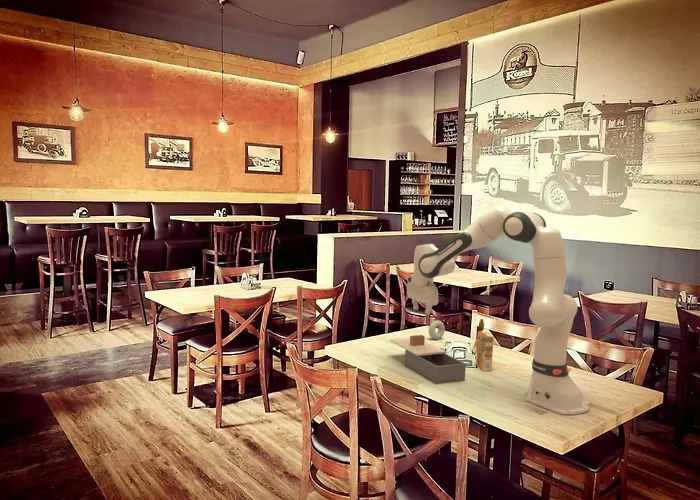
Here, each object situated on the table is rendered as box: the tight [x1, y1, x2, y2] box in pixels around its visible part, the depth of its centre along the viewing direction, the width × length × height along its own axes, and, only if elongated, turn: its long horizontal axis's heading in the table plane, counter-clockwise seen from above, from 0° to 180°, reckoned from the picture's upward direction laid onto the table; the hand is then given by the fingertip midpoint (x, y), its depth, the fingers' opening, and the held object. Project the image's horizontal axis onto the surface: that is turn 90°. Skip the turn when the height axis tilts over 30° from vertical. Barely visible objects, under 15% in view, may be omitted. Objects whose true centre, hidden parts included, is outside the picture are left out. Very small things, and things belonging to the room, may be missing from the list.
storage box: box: [404, 349, 467, 385], centre depth 225 cm, size 24×14×7 cm, turn 24°
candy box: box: [475, 330, 494, 372], centre depth 234 cm, size 9×4×15 cm, turn 8°
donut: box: [428, 319, 446, 340], centre depth 278 cm, size 10×3×10 cm, turn 123°
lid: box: [389, 334, 447, 356], centre depth 237 cm, size 24×14×5 cm, turn 24°
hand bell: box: [471, 318, 485, 354], centre depth 259 cm, size 8×8×16 cm
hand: (421, 311), depth 235 cm, fingers open, 8 cm apart
